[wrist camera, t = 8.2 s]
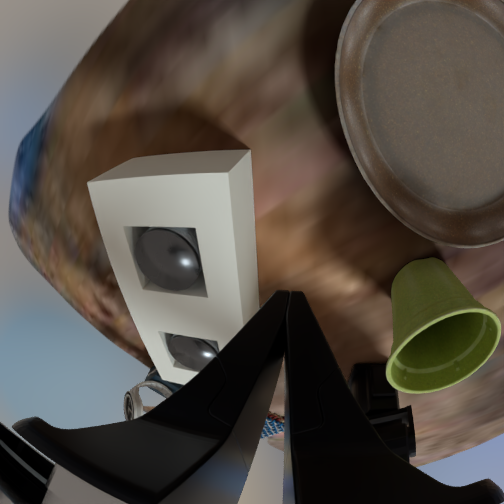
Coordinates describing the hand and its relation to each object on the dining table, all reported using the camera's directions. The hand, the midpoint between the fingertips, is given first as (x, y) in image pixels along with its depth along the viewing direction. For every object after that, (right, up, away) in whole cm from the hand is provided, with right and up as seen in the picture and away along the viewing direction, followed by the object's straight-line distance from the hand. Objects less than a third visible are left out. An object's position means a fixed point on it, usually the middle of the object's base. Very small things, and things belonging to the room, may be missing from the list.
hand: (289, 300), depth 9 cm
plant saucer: (+14, +12, +5) cm, 20 cm away
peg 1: (-6, +4, +14) cm, 16 cm away
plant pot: (+14, -1, +14) cm, 20 cm away
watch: (-13, -16, +29) cm, 36 cm away
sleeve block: (-6, 0, +17) cm, 18 cm away
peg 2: (-5, -4, +20) cm, 21 cm away
